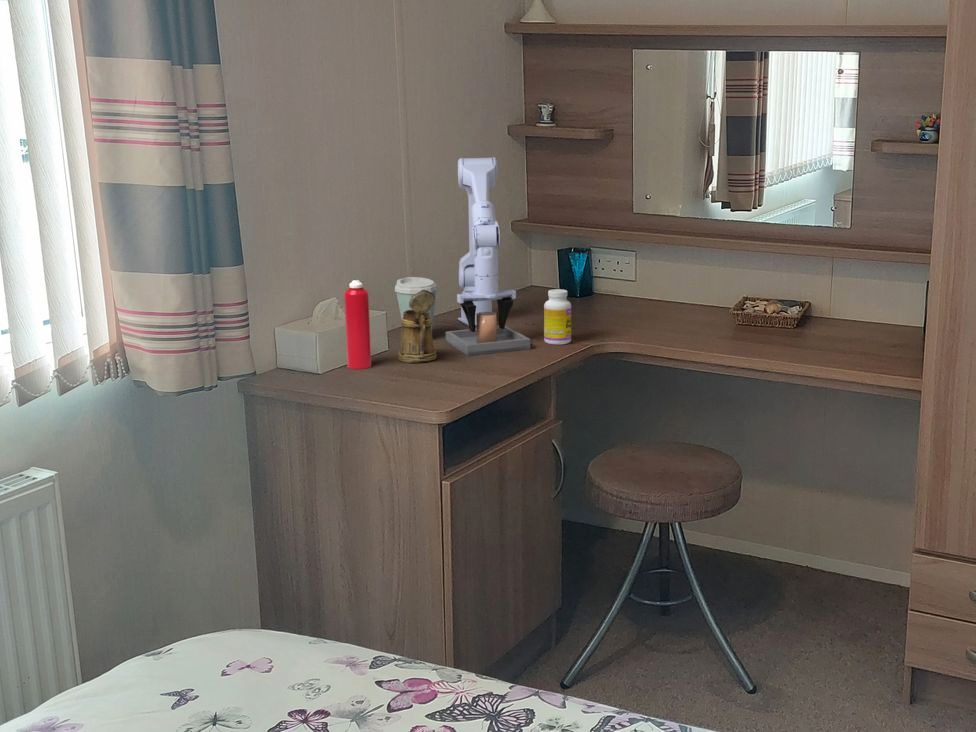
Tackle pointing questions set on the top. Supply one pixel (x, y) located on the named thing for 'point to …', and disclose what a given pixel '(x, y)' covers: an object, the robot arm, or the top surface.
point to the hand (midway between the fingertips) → (487, 329)
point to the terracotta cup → (486, 327)
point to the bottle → (357, 326)
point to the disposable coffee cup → (413, 292)
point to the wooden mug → (417, 330)
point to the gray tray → (505, 342)
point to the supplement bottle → (557, 318)
